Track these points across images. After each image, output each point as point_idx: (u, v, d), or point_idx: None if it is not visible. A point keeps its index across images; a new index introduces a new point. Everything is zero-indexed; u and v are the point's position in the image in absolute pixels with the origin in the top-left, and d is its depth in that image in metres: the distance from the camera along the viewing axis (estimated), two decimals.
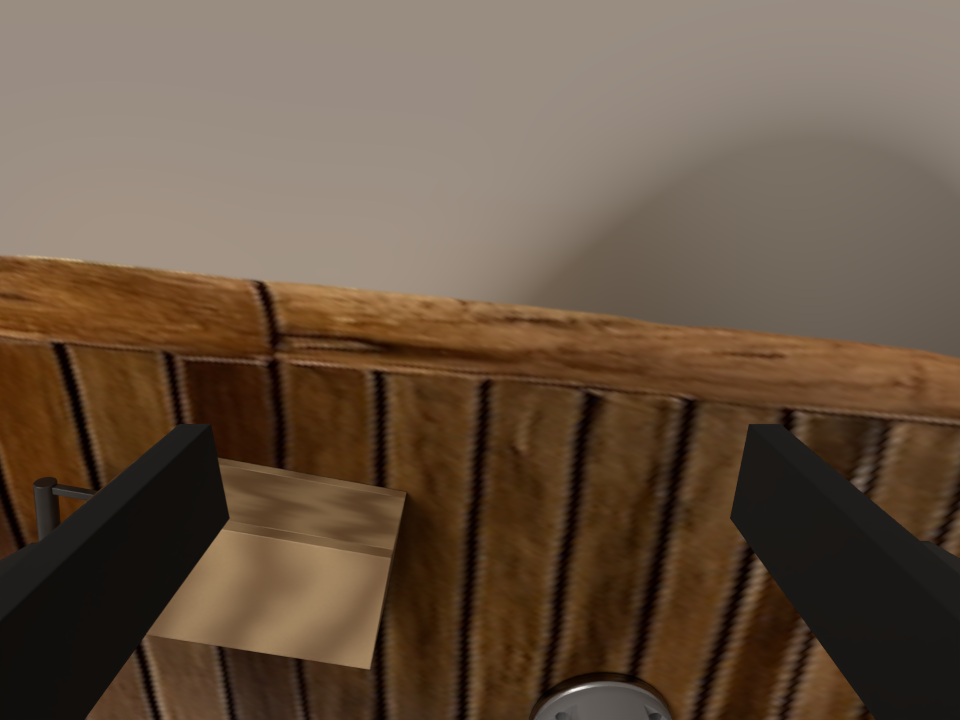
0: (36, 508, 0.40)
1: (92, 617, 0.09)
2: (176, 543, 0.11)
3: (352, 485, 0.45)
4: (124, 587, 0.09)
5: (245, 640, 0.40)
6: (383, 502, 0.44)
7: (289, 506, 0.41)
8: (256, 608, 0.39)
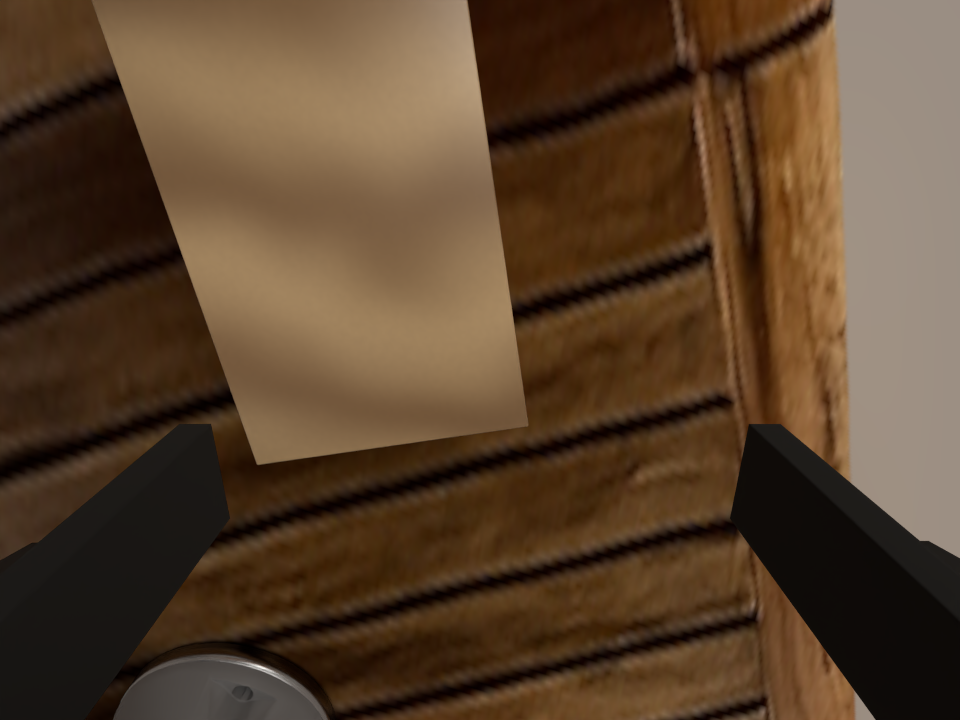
0: None
1: (92, 617, 0.09)
2: (176, 543, 0.11)
3: None
4: (124, 587, 0.09)
5: (198, 214, 0.18)
6: None
7: None
8: (299, 217, 0.18)
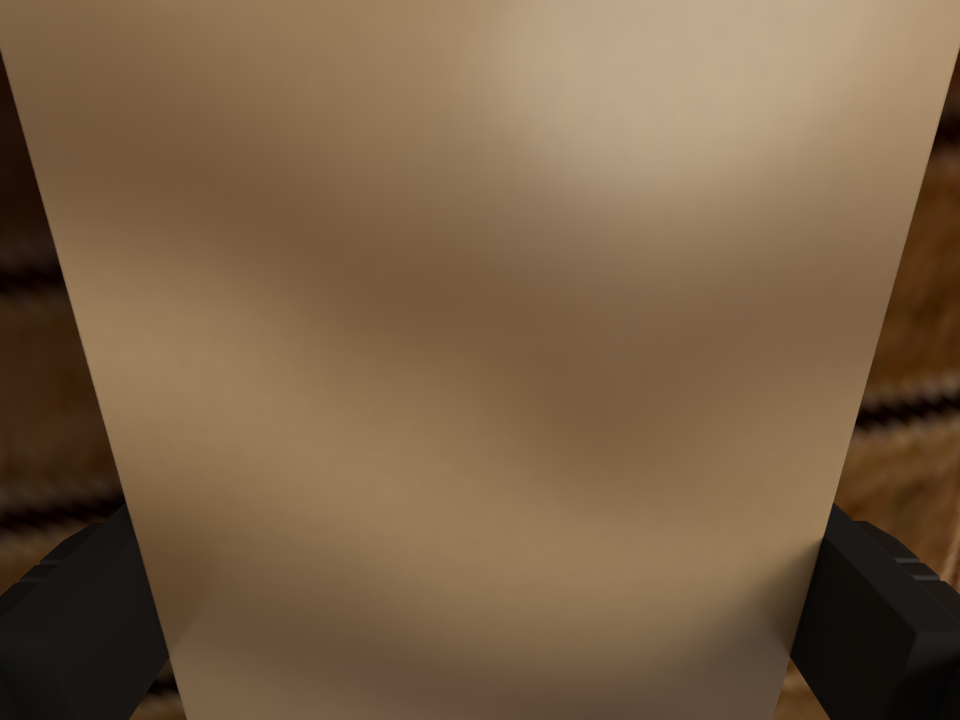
0: None
1: None
2: None
3: None
4: None
5: (135, 251, 0.07)
6: None
7: None
8: (395, 298, 0.07)
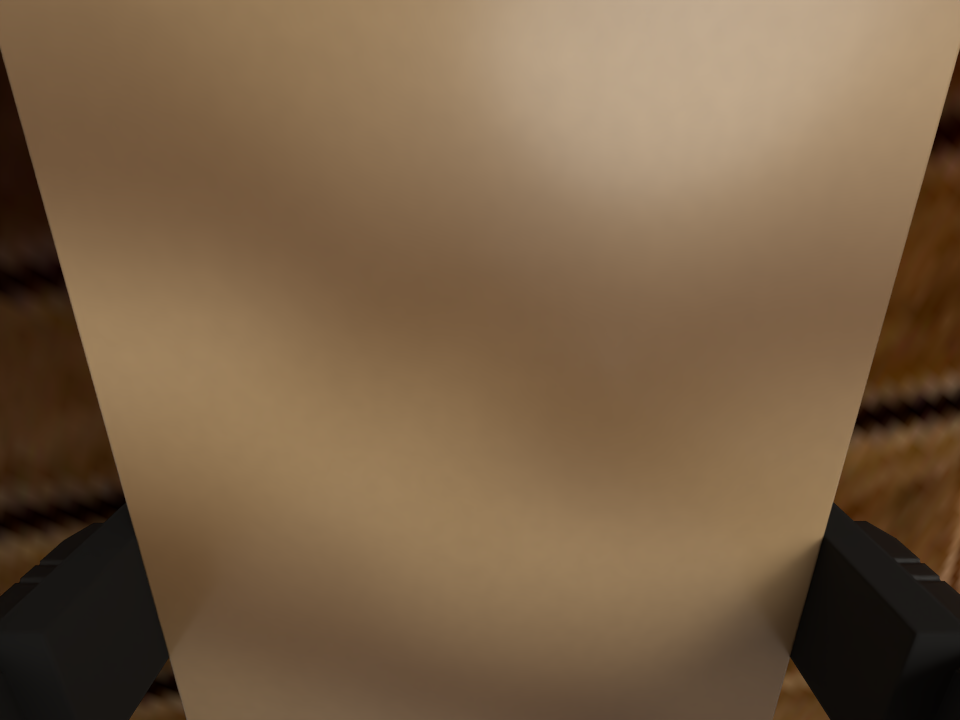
0: None
1: None
2: None
3: None
4: None
5: (134, 251, 0.07)
6: None
7: None
8: (396, 299, 0.07)
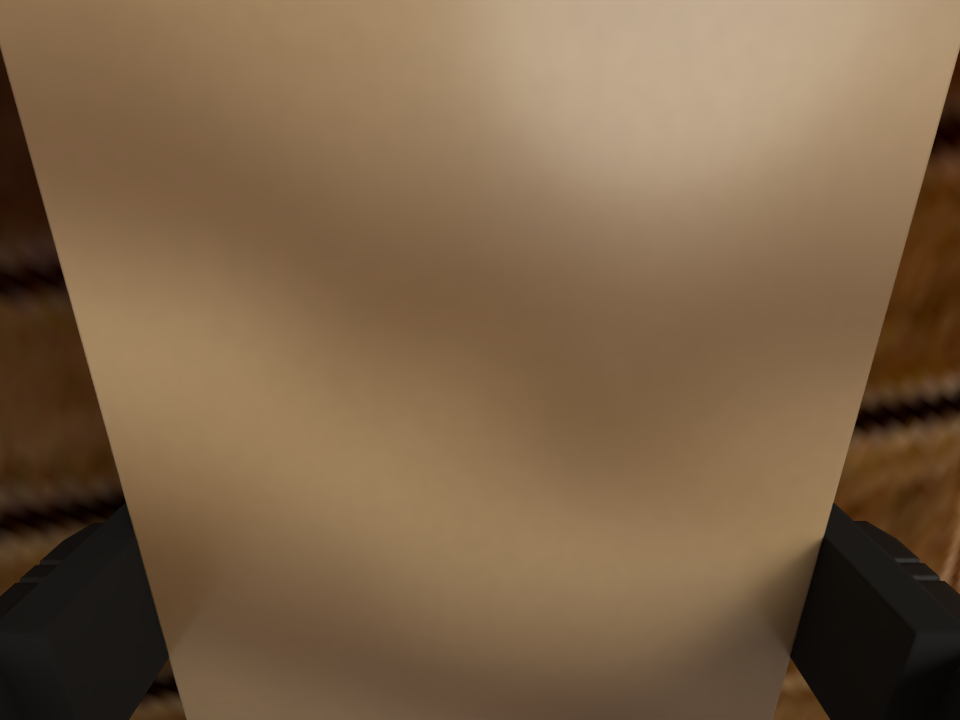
0: None
1: None
2: None
3: None
4: None
5: (135, 250, 0.07)
6: None
7: None
8: (395, 298, 0.07)
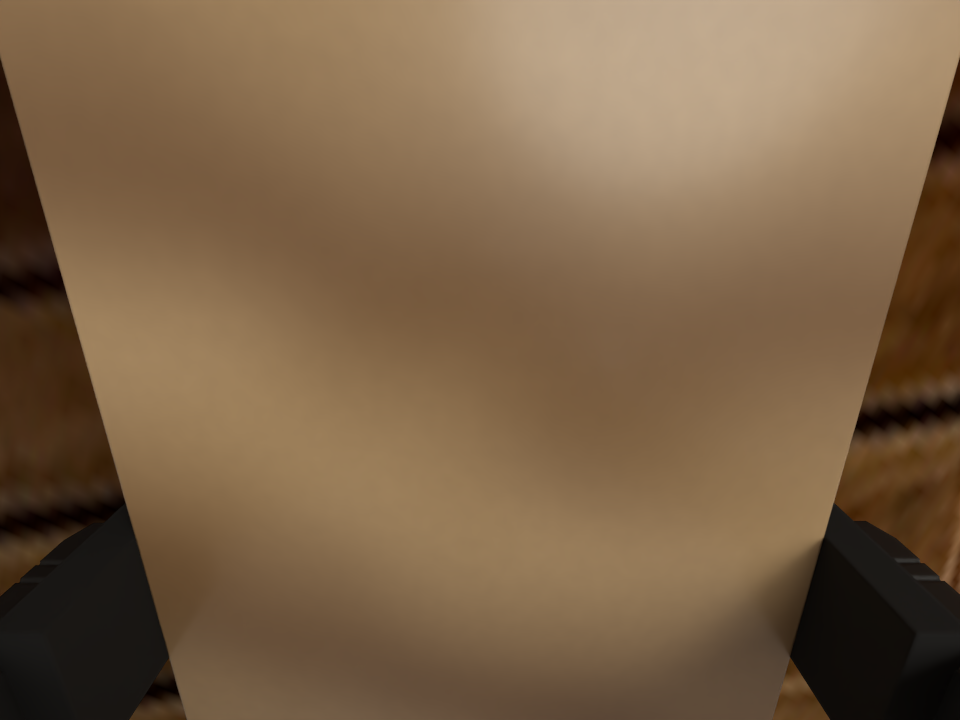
0: None
1: None
2: None
3: None
4: None
5: (132, 251, 0.07)
6: None
7: None
8: (395, 299, 0.07)
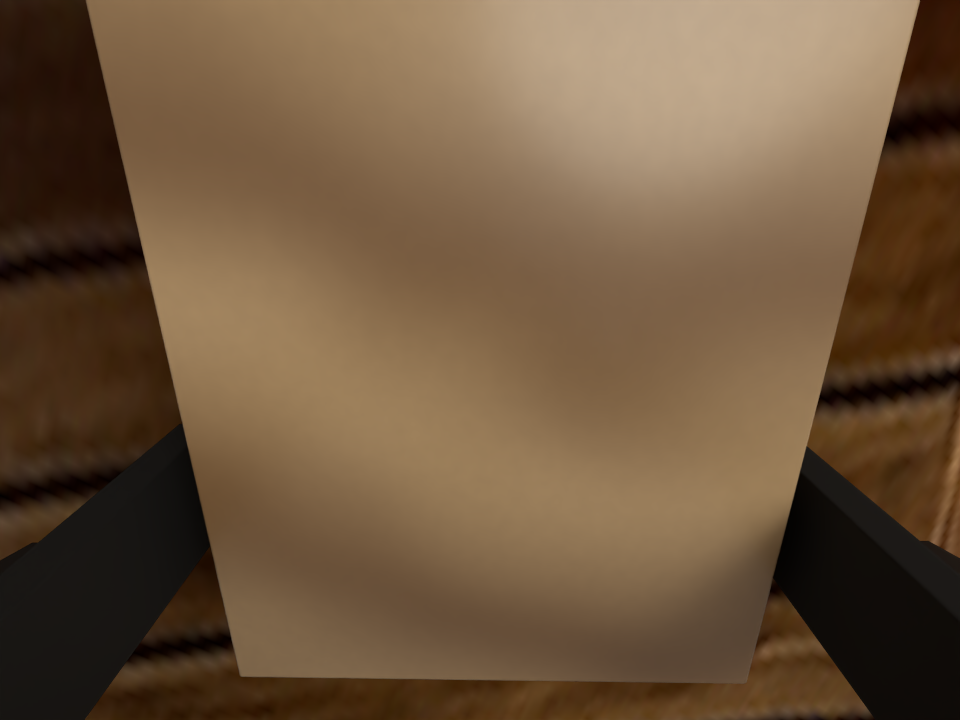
0: None
1: (92, 617, 0.09)
2: (176, 543, 0.11)
3: None
4: (124, 587, 0.09)
5: (202, 220, 0.08)
6: None
7: None
8: (423, 261, 0.08)
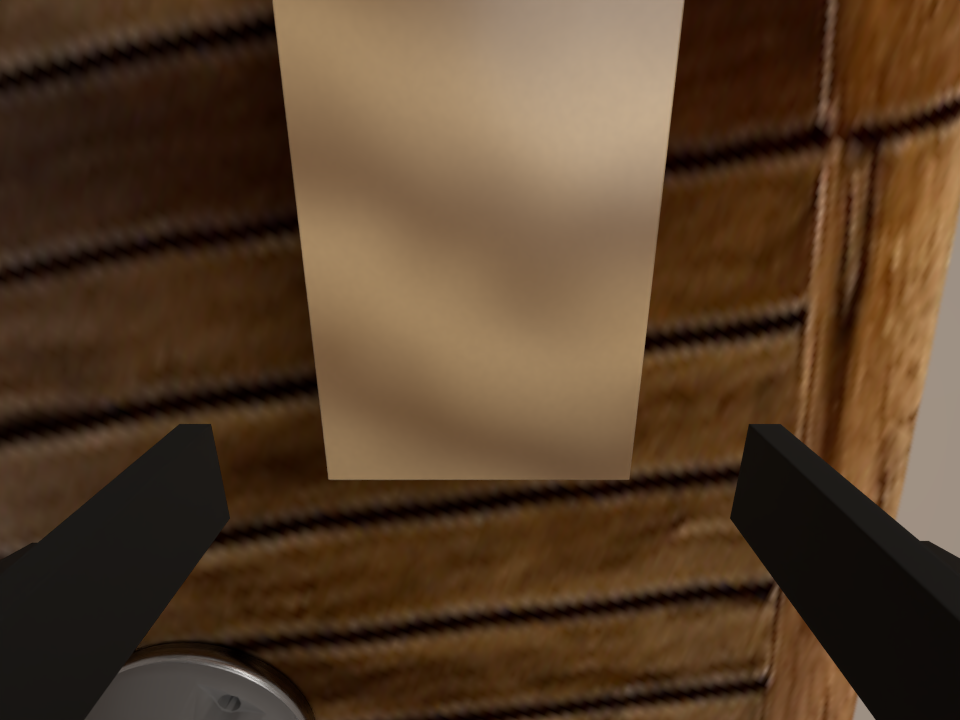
0: None
1: (92, 617, 0.09)
2: (176, 543, 0.11)
3: None
4: (124, 587, 0.09)
5: (330, 203, 0.16)
6: None
7: None
8: (442, 224, 0.16)
